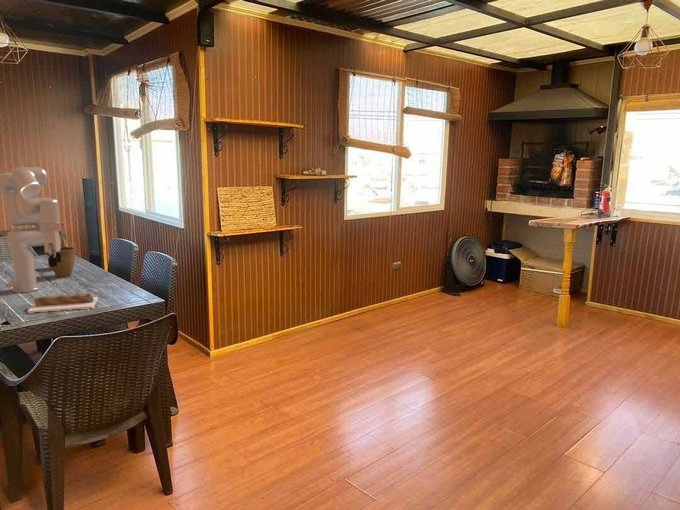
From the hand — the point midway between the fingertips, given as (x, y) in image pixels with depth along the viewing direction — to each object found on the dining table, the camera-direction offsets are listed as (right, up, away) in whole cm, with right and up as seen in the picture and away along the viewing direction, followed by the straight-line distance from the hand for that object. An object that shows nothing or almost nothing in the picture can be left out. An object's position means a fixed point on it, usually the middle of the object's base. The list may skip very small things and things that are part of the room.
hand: (55, 264), depth 223 cm
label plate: (+1, -20, +6) cm, 20 cm away
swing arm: (+1, -18, +6) cm, 19 cm away
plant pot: (-30, -8, +61) cm, 68 cm away
